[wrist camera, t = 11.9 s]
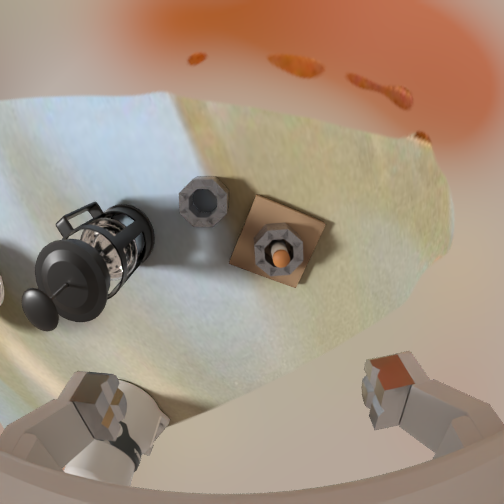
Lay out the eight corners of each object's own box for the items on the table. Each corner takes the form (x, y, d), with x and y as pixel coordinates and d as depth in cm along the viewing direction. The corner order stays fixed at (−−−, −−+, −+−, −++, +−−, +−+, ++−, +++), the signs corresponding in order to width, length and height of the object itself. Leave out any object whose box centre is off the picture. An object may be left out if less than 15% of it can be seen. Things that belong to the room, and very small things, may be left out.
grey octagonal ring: (228, 220, 44) (226, 227, 40) (184, 220, 44) (179, 226, 40) (229, 176, 42) (227, 179, 38) (184, 176, 42) (178, 179, 38)
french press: (170, 249, 45) (108, 341, 23) (123, 280, 46) (50, 374, 25) (123, 181, 42) (22, 221, 20) (79, 218, 43) (-23, 277, 21)
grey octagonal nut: (278, 274, 45) (280, 284, 41) (245, 247, 43) (244, 255, 40) (308, 242, 43) (312, 250, 40) (275, 213, 42) (277, 219, 39)
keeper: (294, 283, 47) (301, 308, 40) (229, 259, 45) (226, 281, 38) (323, 221, 44) (337, 236, 37) (256, 194, 42) (257, 204, 35)
